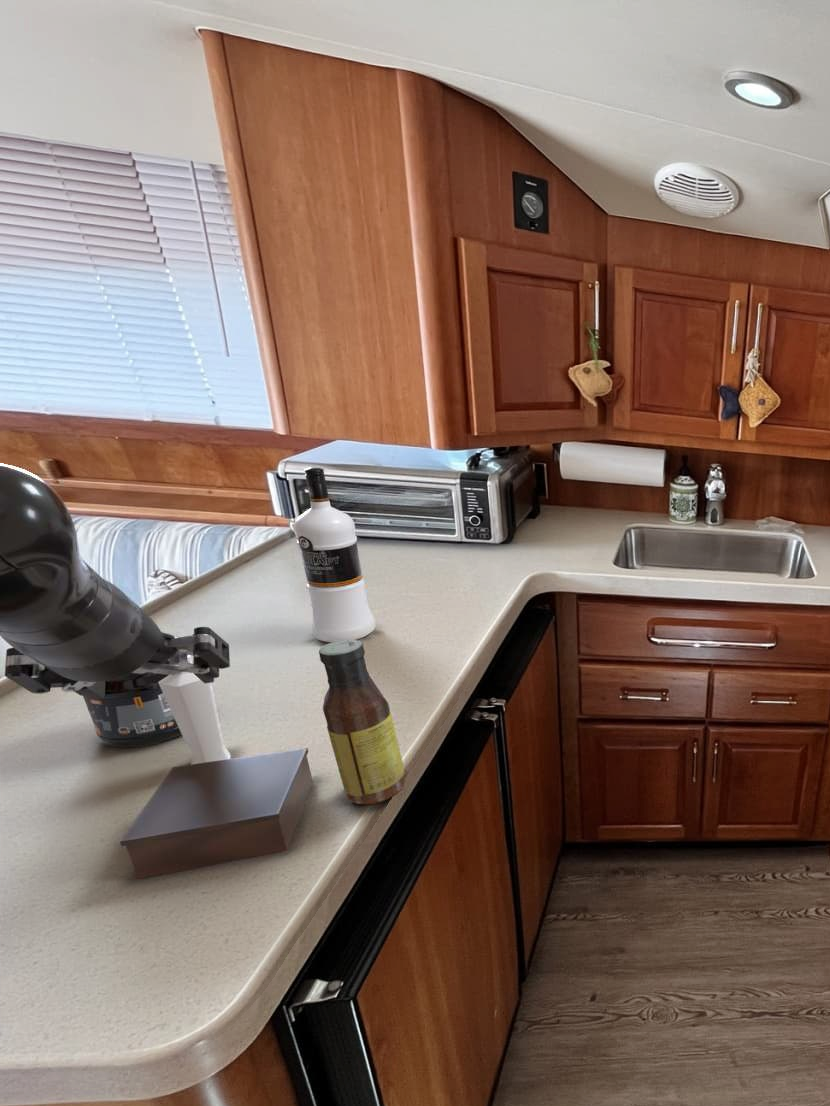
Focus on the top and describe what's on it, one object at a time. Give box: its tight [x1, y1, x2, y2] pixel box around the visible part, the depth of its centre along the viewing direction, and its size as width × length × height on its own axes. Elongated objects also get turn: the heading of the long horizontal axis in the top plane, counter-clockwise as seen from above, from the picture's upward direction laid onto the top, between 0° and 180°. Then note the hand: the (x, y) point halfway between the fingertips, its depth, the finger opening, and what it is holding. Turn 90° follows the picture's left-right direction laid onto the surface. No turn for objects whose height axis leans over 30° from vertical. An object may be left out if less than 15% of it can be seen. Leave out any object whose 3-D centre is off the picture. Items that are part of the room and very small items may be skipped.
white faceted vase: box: [158, 655, 232, 765], centre depth 77 cm, size 5×4×15 cm
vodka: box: [293, 466, 376, 643], centre depth 109 cm, size 9×9×30 cm
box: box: [119, 747, 314, 880], centre depth 70 cm, size 12×12×5 cm
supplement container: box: [82, 635, 193, 748], centre depth 83 cm, size 10×10×12 cm
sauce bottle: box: [318, 639, 406, 805], centre depth 74 cm, size 7×6×20 cm
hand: (156, 682), depth 67 cm, fingers open, 8 cm apart
